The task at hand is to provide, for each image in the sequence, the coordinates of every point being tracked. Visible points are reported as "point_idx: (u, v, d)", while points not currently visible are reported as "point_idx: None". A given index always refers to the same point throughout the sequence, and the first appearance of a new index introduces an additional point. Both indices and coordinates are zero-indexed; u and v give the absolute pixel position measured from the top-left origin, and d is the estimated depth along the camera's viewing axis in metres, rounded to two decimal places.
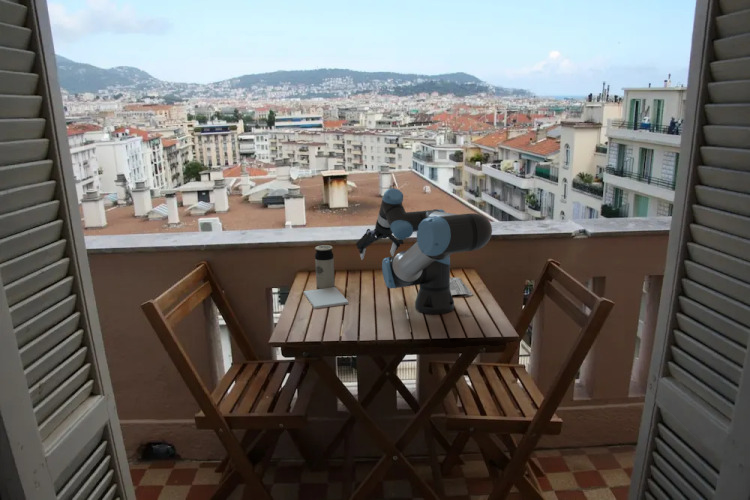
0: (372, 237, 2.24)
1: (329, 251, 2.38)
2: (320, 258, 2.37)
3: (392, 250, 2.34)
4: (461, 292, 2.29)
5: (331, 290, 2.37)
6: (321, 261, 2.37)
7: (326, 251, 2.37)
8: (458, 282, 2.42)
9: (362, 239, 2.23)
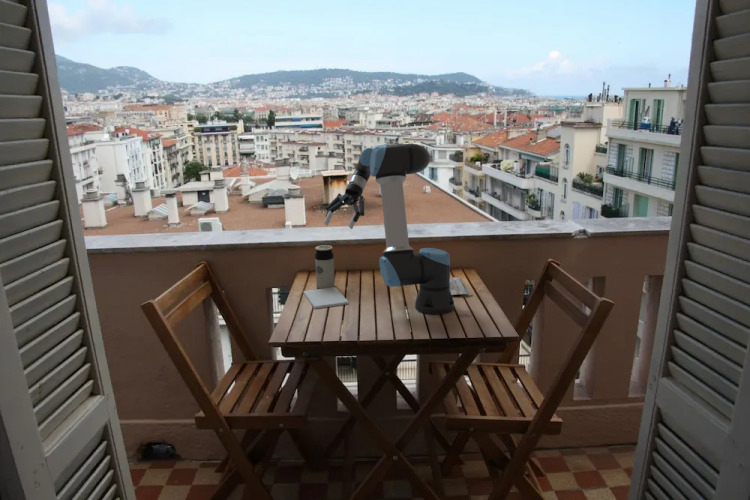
0: None
1: (329, 251, 2.38)
2: (320, 258, 2.37)
3: None
4: (461, 292, 2.29)
5: (331, 290, 2.37)
6: (321, 261, 2.37)
7: (326, 251, 2.37)
8: (458, 282, 2.42)
9: None
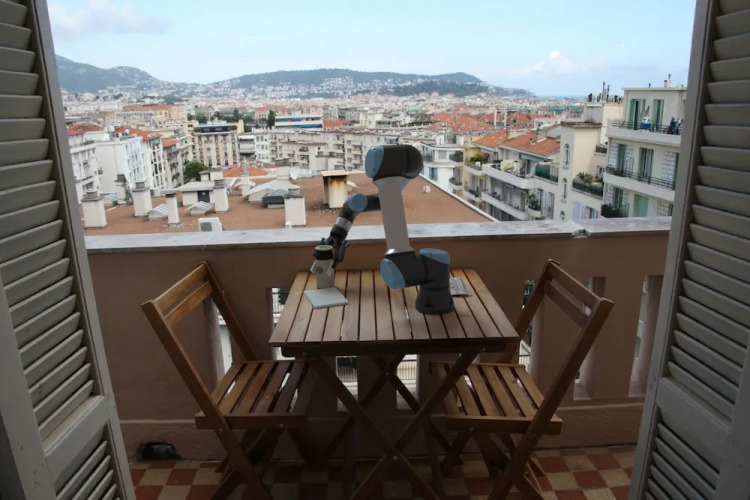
0: None
1: (329, 251, 2.38)
2: (320, 258, 2.37)
3: None
4: (460, 292, 2.29)
5: (331, 290, 2.37)
6: (321, 261, 2.37)
7: (326, 251, 2.37)
8: (458, 282, 2.42)
9: None
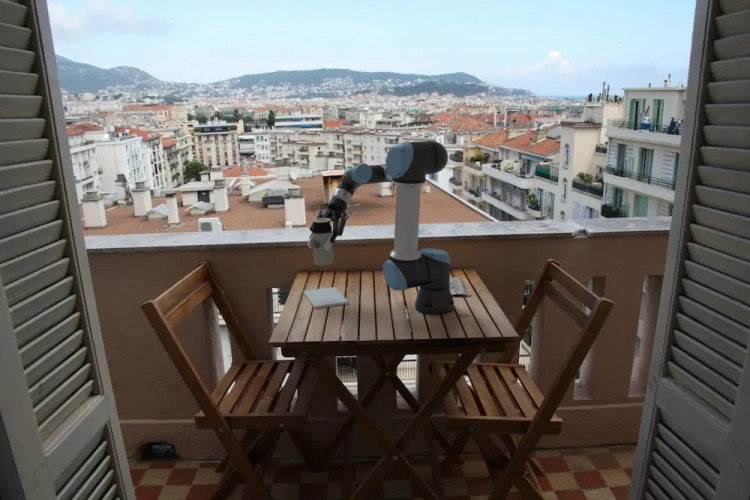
0: None
1: (327, 224, 2.20)
2: (317, 231, 2.19)
3: None
4: (460, 292, 2.29)
5: (331, 290, 2.37)
6: (319, 234, 2.19)
7: (324, 223, 2.19)
8: (458, 282, 2.42)
9: None
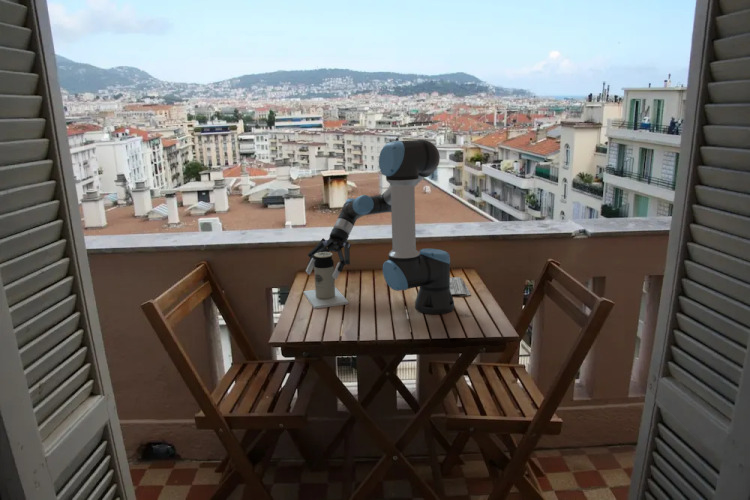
0: None
1: (329, 258, 2.23)
2: (319, 266, 2.22)
3: None
4: (459, 292, 2.29)
5: None
6: (320, 269, 2.22)
7: (325, 258, 2.22)
8: (458, 282, 2.42)
9: None
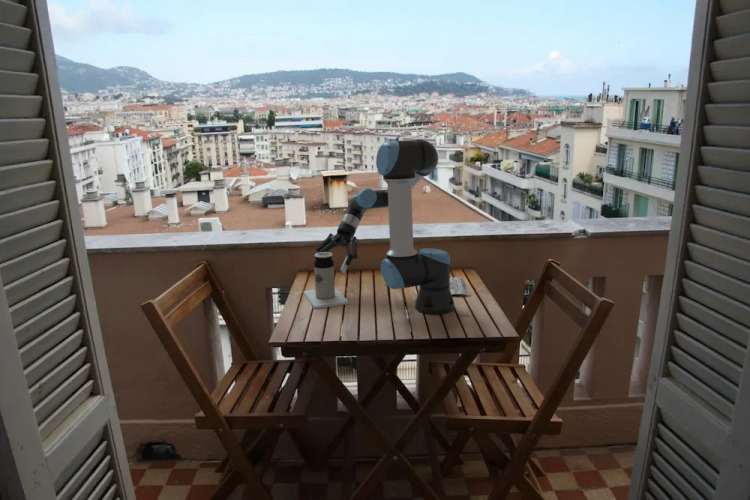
0: None
1: (329, 258, 2.23)
2: (319, 266, 2.22)
3: None
4: (459, 292, 2.29)
5: None
6: (321, 269, 2.22)
7: (326, 258, 2.22)
8: (458, 282, 2.42)
9: None
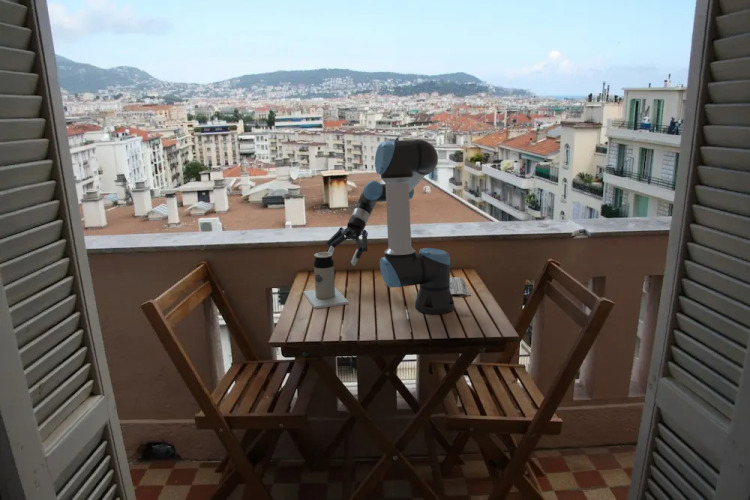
0: None
1: (329, 258, 2.23)
2: (319, 266, 2.22)
3: None
4: (459, 292, 2.30)
5: None
6: (320, 269, 2.22)
7: (325, 258, 2.22)
8: (458, 282, 2.42)
9: None
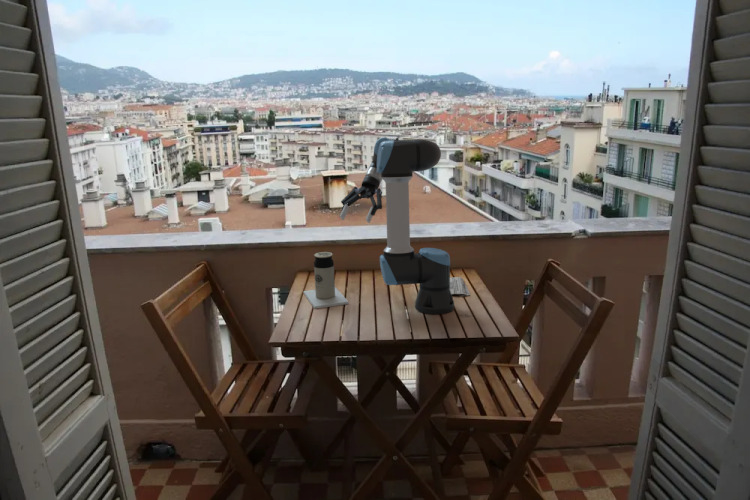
0: None
1: (329, 258, 2.23)
2: (319, 266, 2.22)
3: None
4: (458, 292, 2.30)
5: None
6: (320, 269, 2.22)
7: (325, 258, 2.22)
8: (458, 282, 2.42)
9: None
